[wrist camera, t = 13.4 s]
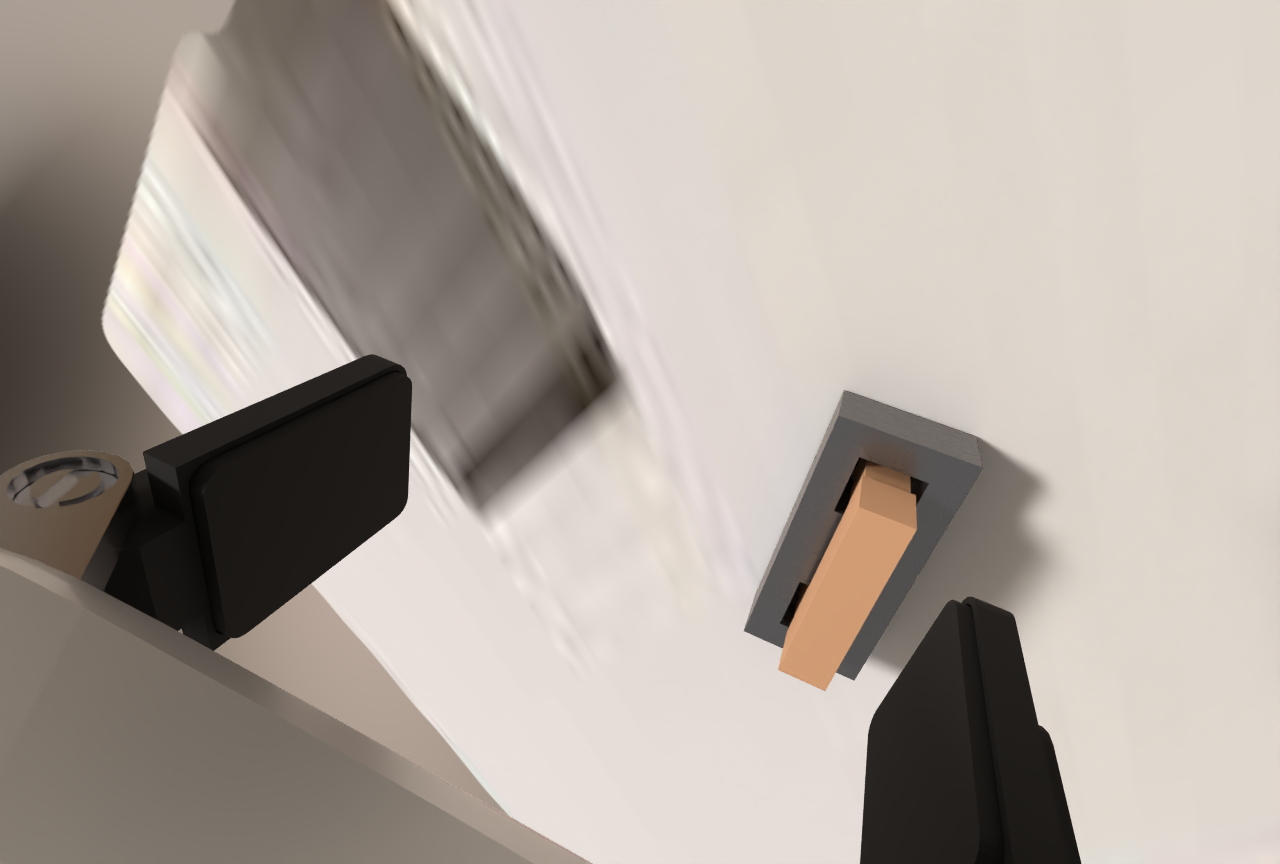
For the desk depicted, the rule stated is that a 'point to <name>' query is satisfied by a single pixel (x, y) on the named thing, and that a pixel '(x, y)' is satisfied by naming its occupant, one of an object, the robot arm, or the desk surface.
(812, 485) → the dark gray slotted block
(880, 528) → the tan block
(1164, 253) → the desk surface
